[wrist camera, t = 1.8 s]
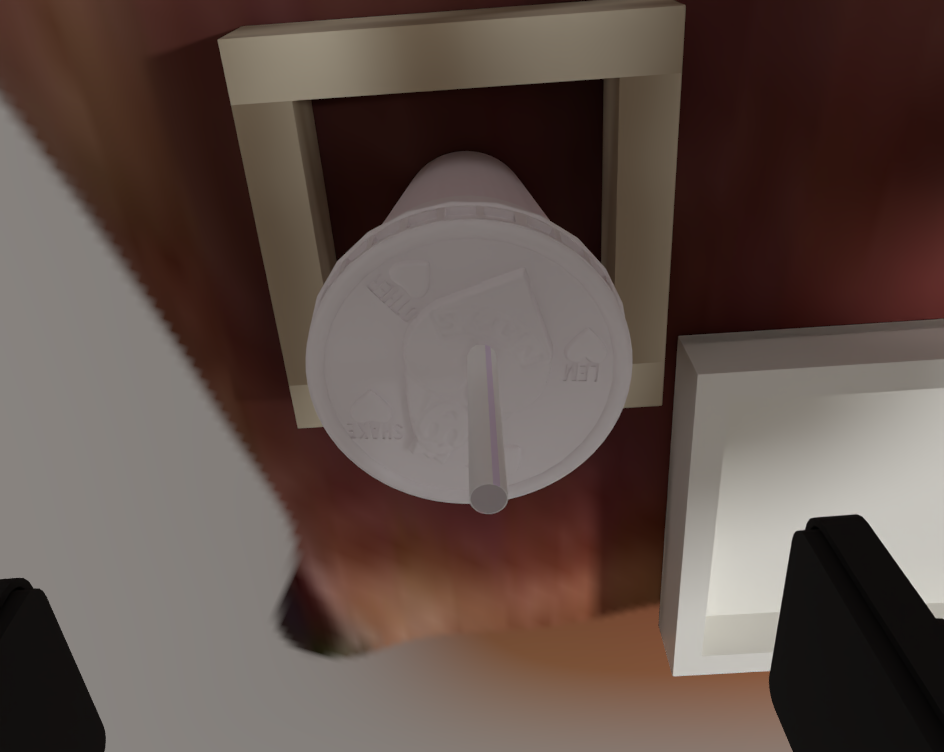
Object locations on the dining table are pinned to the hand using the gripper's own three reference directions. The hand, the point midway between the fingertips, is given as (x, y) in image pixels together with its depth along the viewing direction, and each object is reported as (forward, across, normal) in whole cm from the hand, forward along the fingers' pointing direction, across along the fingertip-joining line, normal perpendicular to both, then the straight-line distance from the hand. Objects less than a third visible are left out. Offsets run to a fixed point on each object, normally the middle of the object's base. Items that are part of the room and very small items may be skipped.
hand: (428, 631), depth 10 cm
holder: (+16, -1, 0) cm, 16 cm away
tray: (+16, -16, +11) cm, 24 cm away
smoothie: (+16, -1, 0) cm, 16 cm away
